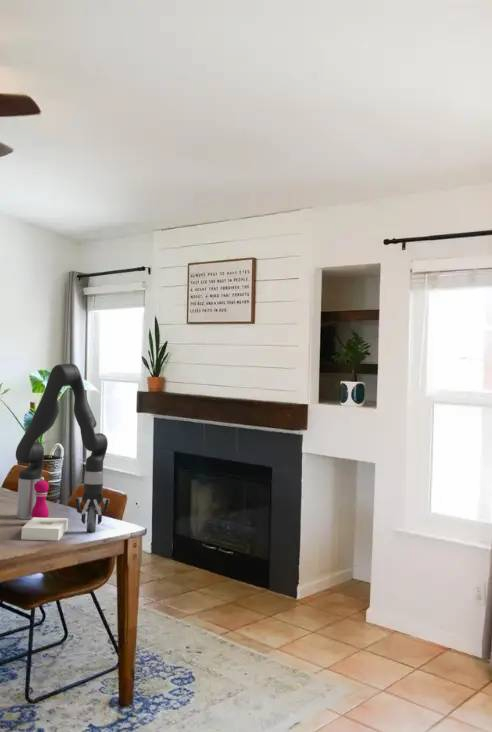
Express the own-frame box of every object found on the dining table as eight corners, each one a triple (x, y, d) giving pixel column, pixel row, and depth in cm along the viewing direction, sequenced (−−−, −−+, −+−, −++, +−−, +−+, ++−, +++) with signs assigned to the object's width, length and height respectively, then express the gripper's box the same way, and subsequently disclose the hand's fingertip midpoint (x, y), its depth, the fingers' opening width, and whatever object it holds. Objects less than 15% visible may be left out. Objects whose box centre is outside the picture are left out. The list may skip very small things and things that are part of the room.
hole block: (32, 528, 295) (33, 517, 295) (67, 529, 296) (68, 518, 296) (21, 539, 275) (21, 527, 275) (58, 540, 276) (58, 528, 276)
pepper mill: (30, 526, 298) (33, 478, 299) (30, 522, 305) (33, 475, 306) (48, 526, 300) (51, 478, 301) (48, 522, 307) (50, 475, 308)
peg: (87, 530, 295) (88, 506, 295) (95, 531, 295) (97, 506, 296) (85, 532, 292) (87, 508, 292) (94, 533, 292) (96, 508, 292)
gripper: (112, 481, 298) (110, 522, 298) (77, 480, 297) (75, 521, 297) (110, 484, 291) (107, 526, 290) (74, 482, 290) (72, 524, 289)
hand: (91, 523), depth 294 cm, fingers open, 5 cm apart
